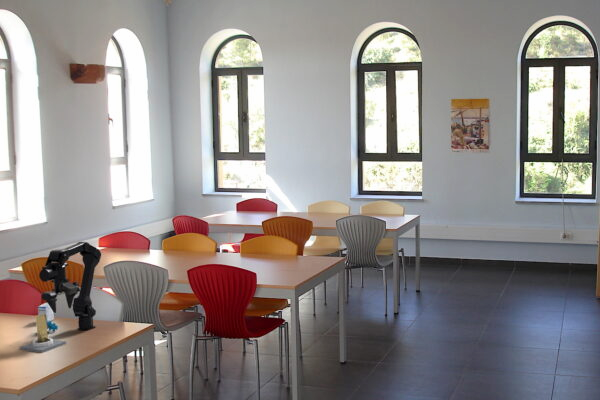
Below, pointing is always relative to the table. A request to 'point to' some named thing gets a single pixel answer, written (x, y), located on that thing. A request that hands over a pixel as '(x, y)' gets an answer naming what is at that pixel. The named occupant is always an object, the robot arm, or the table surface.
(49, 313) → the medicine box
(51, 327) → the gear
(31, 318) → the table surface
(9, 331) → the table surface
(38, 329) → the brass shaft
